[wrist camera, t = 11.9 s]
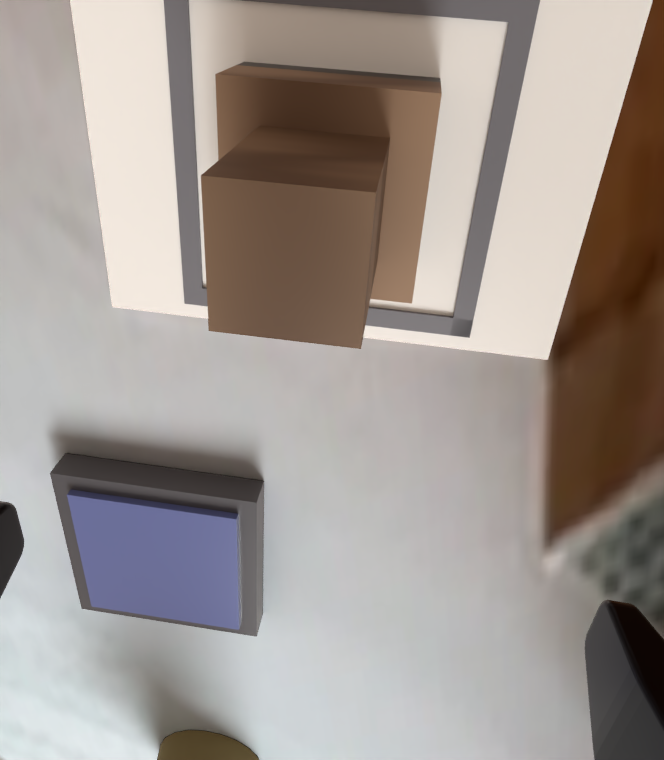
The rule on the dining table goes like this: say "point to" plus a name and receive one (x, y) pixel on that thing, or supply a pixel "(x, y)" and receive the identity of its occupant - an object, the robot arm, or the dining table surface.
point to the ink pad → (163, 542)
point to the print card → (450, 157)
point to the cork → (202, 747)
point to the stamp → (315, 198)
